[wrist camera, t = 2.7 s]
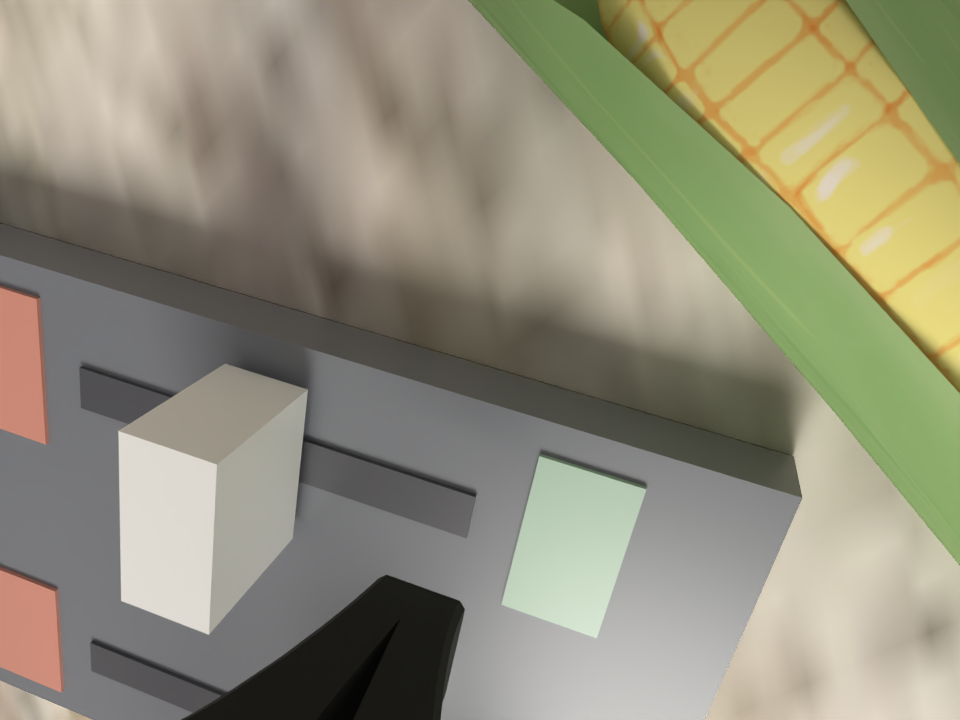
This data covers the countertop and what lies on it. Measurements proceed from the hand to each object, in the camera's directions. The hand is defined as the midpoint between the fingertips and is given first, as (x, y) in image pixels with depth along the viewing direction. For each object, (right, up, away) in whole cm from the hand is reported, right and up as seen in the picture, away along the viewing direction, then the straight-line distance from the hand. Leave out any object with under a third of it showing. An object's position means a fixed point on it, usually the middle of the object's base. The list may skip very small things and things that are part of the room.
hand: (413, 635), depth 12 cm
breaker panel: (-4, -1, +7) cm, 8 cm away
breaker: (-3, +2, +4) cm, 6 cm away
